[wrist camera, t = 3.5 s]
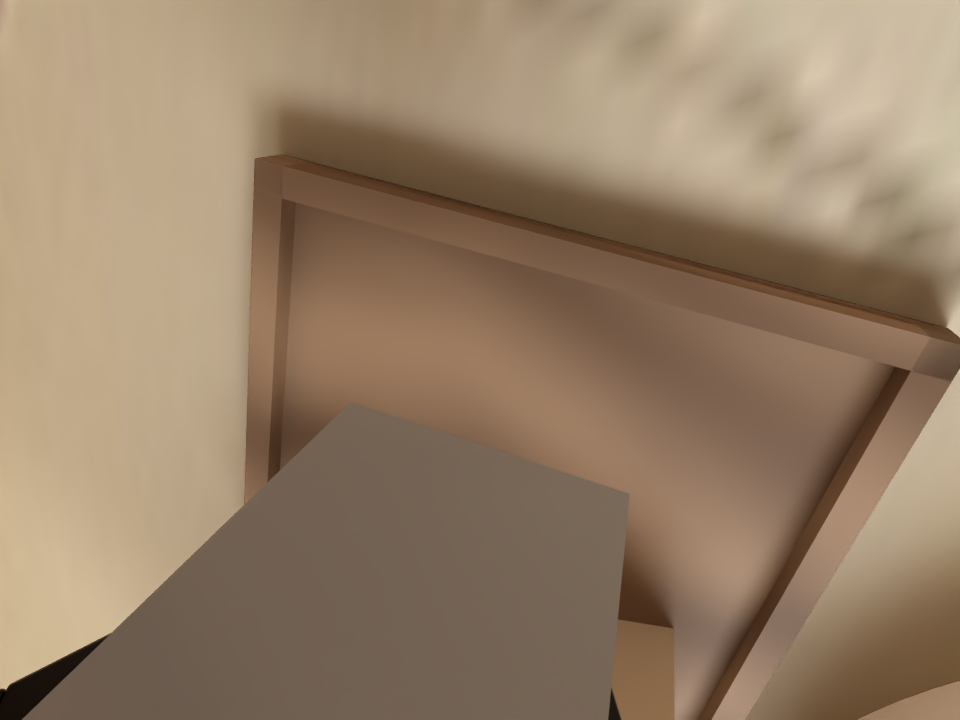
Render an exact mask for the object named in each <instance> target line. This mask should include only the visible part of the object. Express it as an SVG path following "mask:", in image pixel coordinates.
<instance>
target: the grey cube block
mask: <svg viewBox="0 0 960 720" xmlns="http://www.w3.org/2000/svg"><path fill="white" fill-rule="evenodd" d="M629 498H630V494H629V493H626V492H623V491H620V490H616V489H613V488H610V487H607V486H604V485H601V484H598V483H595V482H592V481H589V480H586V479H583V478H580V477H577V476H574V475H571V474H568V473H565V472H562V471H559V470H556V469H553V468H550V467H547V466H544V465H541V464H538V463H534V462H531V461H528V460H525V459H522V458H519V457H516V456H513V455H510V454H507V453H504V452H501V451H498V450H495V449H492V448H489V447H486V446H483V445H480V444H477V443H474V442H471V441H468V440H465V439H462V438H459V437H455V436H452V435H449V434H446V433H443V432H440V431H437V430H434V429H431V428H428V427H425V426H422V425H419V424H416V423H413V422H410V421H407V420H404V419H401V418H398V417H395V416H392V415H389V414H386V413H383V412H380V411H376V410H373V409H370V408H367V407H364V406H361V405H358V404H355V403H352V402H351V403H349V404H348V405H347V406H346V407H345V408H344V409H343V410H342V411H341V412H340V413H339V414H338V415H337V416H336V417H335V418H334V419H333V420H332V421H331V422H330V423H329V424H328V425H327V426H326V427H325V428H324V429H323V430H322V431H320V432H319V433H318V434H317V435H316V436H315V437H314V438H313V439H312V440H311V441H310V442H309V443H308V444H307V445H306V446H305V447H304V448H303V449H302V450H301V451H300V452H299V453H298V454H297V455H296V456H295V457H294V458H292V459H291V460H290V461H289V462H288V463H287V464H286V465H285V466H284V467H283V468H282V469H281V470H280V471H279V472H278V473H277V474H276V475H275V476H274V477H273V478H272V479H271V480H270V481H269V482H268V483H267V484H266V485H265V486H263V487H262V488H261V489H260V490H259V491H258V492H257V493H256V494H255V495H254V496H253V497H252V498H251V499H250V500H249V501H248V502H247V503H246V504H245V505H244V506H243V507H242V508H241V509H240V510H239V511H238V512H237V513H235V514H234V515H233V516H232V517H231V518H230V519H229V520H228V521H227V522H226V523H225V524H224V525H223V526H222V527H221V528H220V529H219V530H218V531H217V532H216V533H215V534H214V535H213V536H212V537H211V538H210V539H209V540H208V541H206V542H205V543H204V544H203V545H202V546H201V547H200V548H199V549H198V550H197V551H196V552H195V553H194V554H193V555H192V556H191V557H190V558H189V559H188V560H187V561H186V562H185V563H184V564H183V565H182V566H181V567H180V568H178V569H177V570H176V571H175V572H174V573H173V574H172V575H171V576H170V577H169V578H168V579H167V580H166V581H165V582H164V583H163V584H162V585H161V586H160V587H159V588H158V589H157V590H156V591H155V592H154V593H153V594H152V595H151V596H149V597H148V598H147V599H146V600H145V601H144V602H143V603H142V604H141V605H140V606H139V607H138V608H137V609H136V610H135V611H134V612H133V613H132V614H131V615H130V616H129V617H128V618H127V619H126V620H125V621H124V622H123V623H121V624H120V625H119V626H118V627H117V628H116V629H115V630H114V631H113V632H112V633H111V634H110V635H109V636H108V637H107V638H106V639H105V640H104V641H103V642H102V643H101V644H100V645H99V646H98V647H97V648H96V649H95V650H94V651H92V652H91V653H90V654H89V655H88V656H87V657H86V658H85V659H84V660H83V661H82V662H81V663H80V664H79V665H78V666H77V667H76V668H75V669H74V670H73V671H72V672H71V673H70V674H69V675H68V676H67V677H66V678H64V679H63V680H62V681H61V682H60V683H59V684H58V685H57V686H56V687H55V688H54V689H53V690H52V691H51V692H50V693H49V694H48V695H47V696H46V697H45V698H44V699H43V700H42V701H41V702H40V703H39V704H38V705H37V706H35V707H34V708H33V709H32V710H31V711H30V712H29V713H28V714H27V715H26V716H25V717H24V718H23V719H22V720H608V716H609V705H610V695H611V685H612V674H613V664H614V653H615V643H616V633H617V622H618V612H619V602H620V591H621V581H622V570H623V560H624V550H625V539H626V529H627V518H628V508H629Z"/></svg>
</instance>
